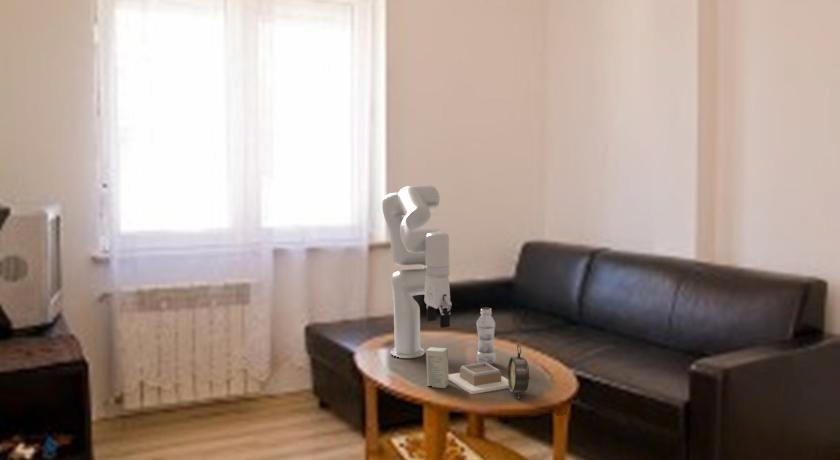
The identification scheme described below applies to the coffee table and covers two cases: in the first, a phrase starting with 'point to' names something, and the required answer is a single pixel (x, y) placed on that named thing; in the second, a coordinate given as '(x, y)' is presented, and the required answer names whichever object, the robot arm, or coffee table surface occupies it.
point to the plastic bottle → (486, 337)
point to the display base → (480, 387)
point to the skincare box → (437, 367)
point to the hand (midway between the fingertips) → (438, 323)
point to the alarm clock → (518, 374)
